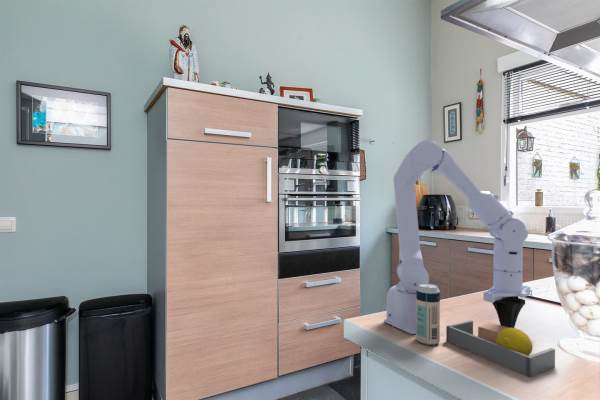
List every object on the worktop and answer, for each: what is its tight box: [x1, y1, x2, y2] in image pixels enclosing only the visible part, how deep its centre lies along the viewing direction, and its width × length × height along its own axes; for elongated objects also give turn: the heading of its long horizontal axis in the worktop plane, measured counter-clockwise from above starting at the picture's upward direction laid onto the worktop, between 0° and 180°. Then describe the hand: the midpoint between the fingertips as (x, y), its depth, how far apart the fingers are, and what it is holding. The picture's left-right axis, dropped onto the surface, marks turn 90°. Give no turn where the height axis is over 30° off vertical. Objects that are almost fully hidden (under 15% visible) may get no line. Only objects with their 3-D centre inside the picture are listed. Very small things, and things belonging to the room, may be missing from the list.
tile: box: [477, 321, 508, 343], centre depth 76 cm, size 5×5×2 cm
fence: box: [445, 320, 556, 378], centre depth 68 cm, size 17×8×3 cm, turn 28°
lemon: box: [496, 327, 533, 356], centre depth 66 cm, size 6×6×8 cm
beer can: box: [415, 283, 441, 346], centre depth 73 cm, size 5×5×12 cm
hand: (507, 329), depth 78 cm, fingers closed
